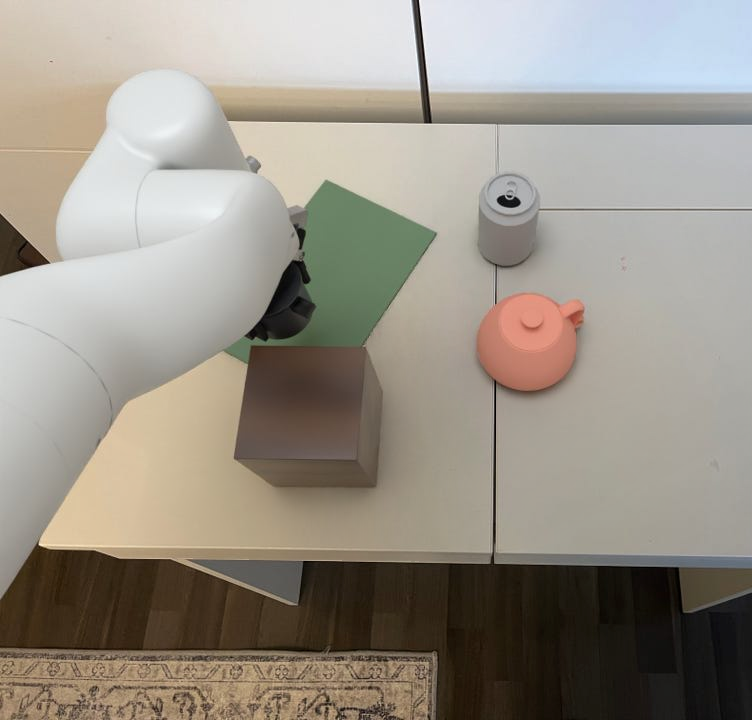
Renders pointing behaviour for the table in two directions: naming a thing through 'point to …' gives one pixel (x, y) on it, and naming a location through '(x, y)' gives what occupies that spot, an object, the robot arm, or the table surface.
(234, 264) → the robot arm
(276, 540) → the table surface
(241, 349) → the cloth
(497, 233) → the can
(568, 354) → the sugar bowl
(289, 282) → the pot
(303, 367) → the stand
